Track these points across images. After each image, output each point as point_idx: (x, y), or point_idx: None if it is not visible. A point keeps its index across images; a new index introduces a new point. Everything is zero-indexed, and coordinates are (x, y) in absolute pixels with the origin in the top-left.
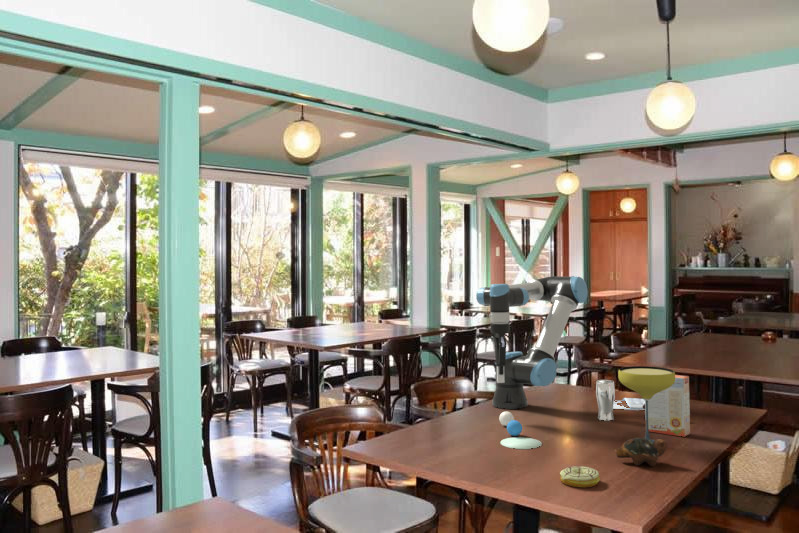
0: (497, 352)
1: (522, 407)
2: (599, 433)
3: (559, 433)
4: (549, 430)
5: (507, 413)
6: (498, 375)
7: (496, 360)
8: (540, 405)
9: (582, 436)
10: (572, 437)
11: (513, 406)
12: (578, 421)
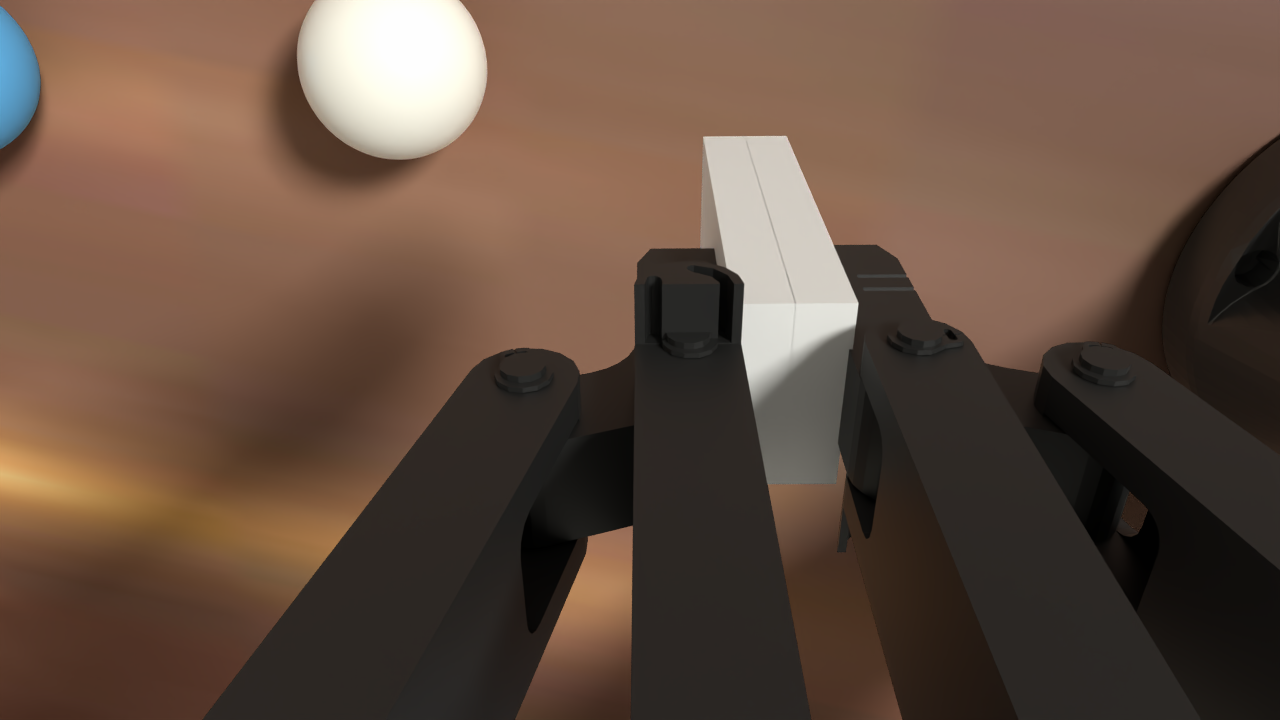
0: (988, 689)
1: (1175, 379)
2: (206, 690)
3: (162, 459)
4: (256, 410)
5: (322, 89)
6: (710, 216)
7: (1077, 408)
8: None
9: (96, 581)
10: (49, 515)
11: (1184, 293)
12: (566, 662)
